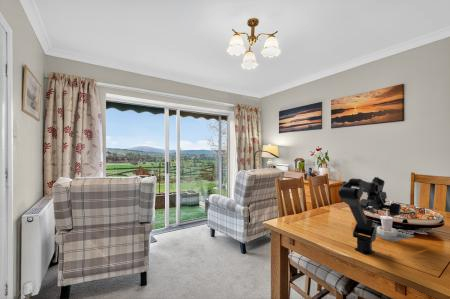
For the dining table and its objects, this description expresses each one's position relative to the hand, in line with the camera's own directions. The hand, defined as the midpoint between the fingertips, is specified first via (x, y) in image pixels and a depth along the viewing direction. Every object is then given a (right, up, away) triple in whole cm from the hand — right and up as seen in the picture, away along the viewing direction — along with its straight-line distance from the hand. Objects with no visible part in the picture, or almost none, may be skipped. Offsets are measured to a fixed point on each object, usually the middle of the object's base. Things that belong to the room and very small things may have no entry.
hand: (383, 215), depth 124 cm
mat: (+5, -13, +4) cm, 14 cm away
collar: (+5, -12, +4) cm, 14 cm away
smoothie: (+5, -12, +4) cm, 14 cm away
